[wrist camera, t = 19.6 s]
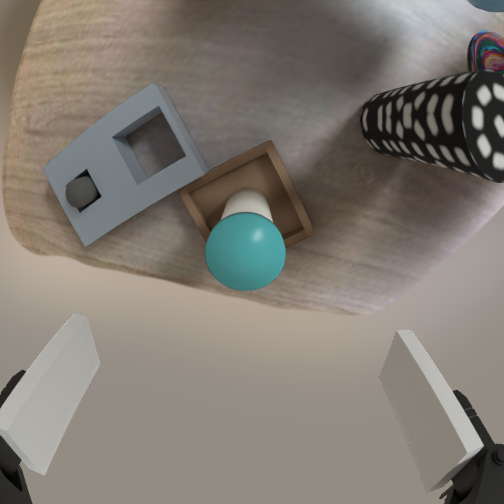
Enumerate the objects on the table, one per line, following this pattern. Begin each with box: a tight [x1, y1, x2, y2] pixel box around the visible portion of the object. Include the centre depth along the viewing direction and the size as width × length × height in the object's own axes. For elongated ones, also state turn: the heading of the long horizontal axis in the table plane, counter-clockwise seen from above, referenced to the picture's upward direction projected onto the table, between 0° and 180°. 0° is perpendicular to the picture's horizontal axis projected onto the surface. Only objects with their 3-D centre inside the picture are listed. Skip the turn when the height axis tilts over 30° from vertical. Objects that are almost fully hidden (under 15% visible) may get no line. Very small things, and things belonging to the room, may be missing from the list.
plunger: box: [65, 175, 102, 208], centre depth 32 cm, size 3×3×4 cm
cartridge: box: [205, 187, 286, 291], centre depth 29 cm, size 6×6×15 cm
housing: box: [43, 82, 209, 247], centre depth 33 cm, size 12×18×4 cm, turn 117°
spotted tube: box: [360, 70, 504, 183], centre depth 23 cm, size 8×8×20 cm
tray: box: [177, 140, 316, 248], centre depth 35 cm, size 12×12×2 cm
